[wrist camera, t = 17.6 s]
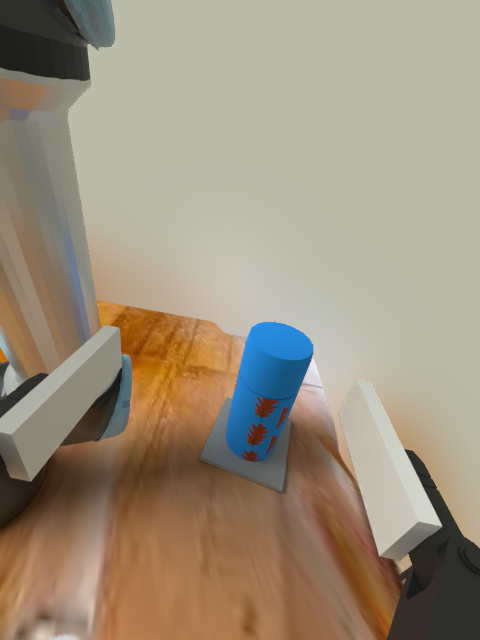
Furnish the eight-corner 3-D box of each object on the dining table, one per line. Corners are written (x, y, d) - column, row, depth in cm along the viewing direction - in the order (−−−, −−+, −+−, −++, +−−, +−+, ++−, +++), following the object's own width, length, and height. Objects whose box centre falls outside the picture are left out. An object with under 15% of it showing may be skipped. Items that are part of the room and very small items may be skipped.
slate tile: (199, 459, 48) (199, 456, 48) (226, 400, 62) (226, 397, 61) (281, 493, 46) (282, 490, 45) (290, 423, 59) (291, 420, 59)
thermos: (232, 409, 59) (255, 315, 46) (278, 424, 57) (314, 331, 45) (217, 451, 49) (241, 347, 37) (271, 470, 48) (314, 369, 36)
